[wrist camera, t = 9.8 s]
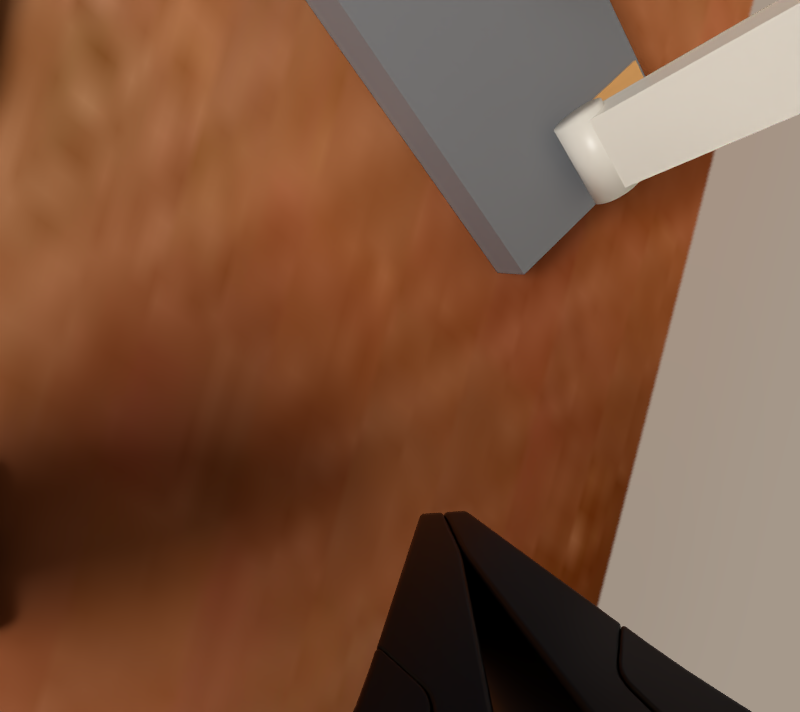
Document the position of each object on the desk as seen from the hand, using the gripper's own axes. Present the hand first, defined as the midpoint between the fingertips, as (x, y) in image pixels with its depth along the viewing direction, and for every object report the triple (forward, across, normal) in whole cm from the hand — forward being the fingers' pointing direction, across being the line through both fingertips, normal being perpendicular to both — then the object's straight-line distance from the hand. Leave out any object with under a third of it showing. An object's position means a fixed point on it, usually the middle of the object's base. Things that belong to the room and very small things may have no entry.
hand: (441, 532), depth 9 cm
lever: (+12, +8, +6) cm, 16 cm away
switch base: (+15, +3, +10) cm, 19 cm away
